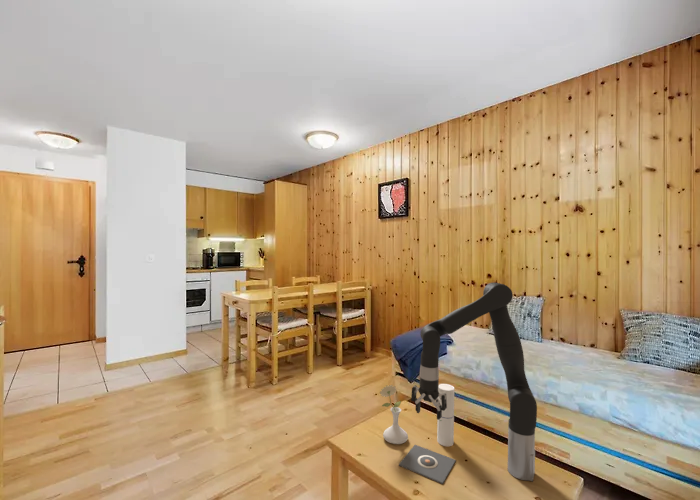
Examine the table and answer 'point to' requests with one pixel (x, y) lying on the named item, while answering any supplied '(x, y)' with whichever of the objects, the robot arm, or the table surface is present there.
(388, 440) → the flower in vase
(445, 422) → the cylindrical container
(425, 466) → the pad
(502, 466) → the table surface
